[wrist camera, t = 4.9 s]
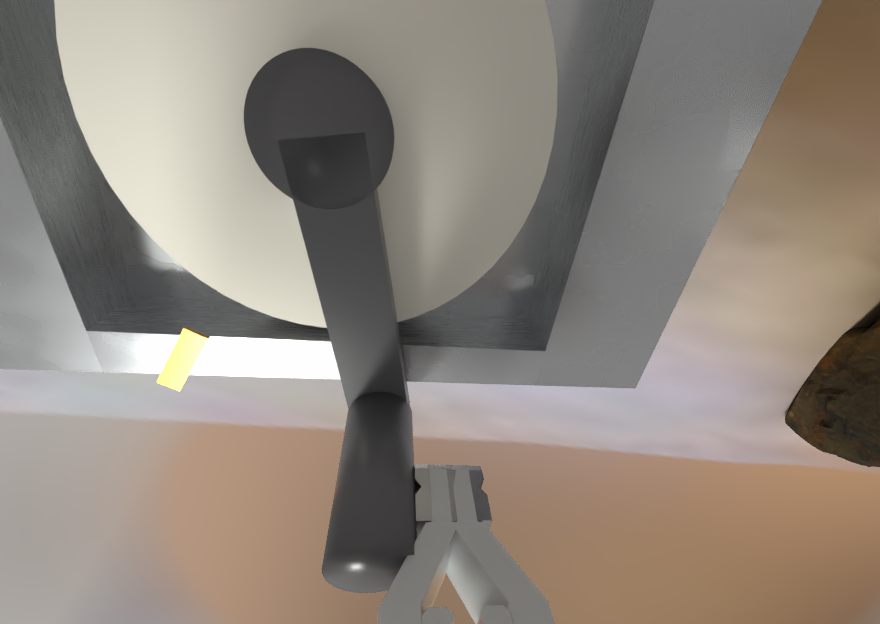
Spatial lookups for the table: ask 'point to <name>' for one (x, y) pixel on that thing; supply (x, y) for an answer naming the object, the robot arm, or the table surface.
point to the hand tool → (843, 399)
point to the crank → (326, 182)
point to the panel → (486, 301)
